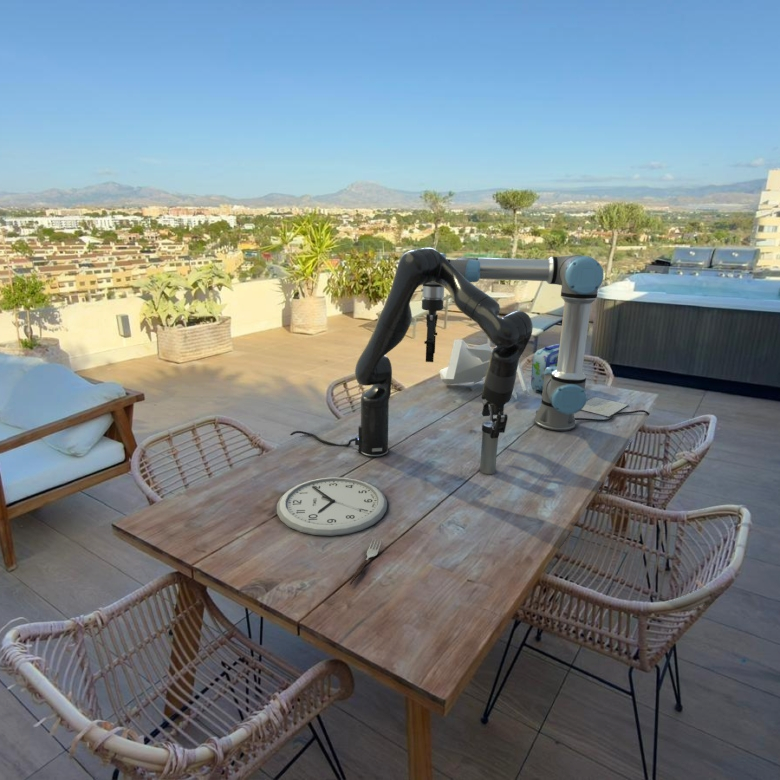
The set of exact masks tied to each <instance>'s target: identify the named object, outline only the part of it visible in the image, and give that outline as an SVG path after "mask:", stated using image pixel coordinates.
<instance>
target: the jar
mask: <svg viewBox="0 0 780 780" xmlns="http://www.w3.org/2000/svg"><path fill="white" fill-rule="evenodd" d="M481 435H482V436H481V445H480V446H481V448H480V460H479V472H480V473H482V474H484V475H494V474H495V473H496V469H497V468H496V467H497V457H498V456H497V455H498V444H499V437H498V438H491V437H490V434H488V433H485V432H483V431H482V433H481Z"/></svg>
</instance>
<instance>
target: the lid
mask: <svg viewBox="0 0 780 780" xmlns="http://www.w3.org/2000/svg"><path fill="white" fill-rule="evenodd" d="M495 424H496V421H495ZM491 429H492V421H491V420H487V421H482V423H481V431H482V433H483V432H485V433H488V434H491Z"/></svg>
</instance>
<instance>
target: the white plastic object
mask: <svg viewBox="0 0 780 780" xmlns="http://www.w3.org/2000/svg"><path fill="white" fill-rule="evenodd" d="M498 317H499V318H500V315H498ZM492 351H493V348H492V347H491V346H490V344H489V343H488V342H487V343H483V344H479V345H473V346H469V345H468V343H466V342H465V340H464V339H463V338H460V339H458V338H454V340H453V344H452V349H451V353H450V357H449V362H448V366H446V367H444V368H442V369H440V370H439V371H438V372H439V376H440V381H442V383H443V384H444V385H445V386H449V385H458V384H467V383H468V384H469V383H473V384H477V383H480V382H482V381H484V378H485V377H486V372H487V369H488V367H489V362H490V357H491V353H492ZM522 368H523V367H522V366H521V362H520V361H519V363H518V367H517V372H516V374H517V376H518V380H519V382H520V385H521V389H522V391H523V393H524V395H525V396H526V397H528V396H531V395H530V390H529V388H528V387H529V386H528V384H527V381H526V378H525V375H524V371H523V369H522ZM516 391H517V390H516V388H515V387H514V388H513V392H512V397H513V398H514V399H515V400H517V392H516Z"/></svg>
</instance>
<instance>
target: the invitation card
mask: <svg viewBox="0 0 780 780" xmlns="http://www.w3.org/2000/svg"><path fill="white" fill-rule="evenodd" d="M628 406H629V404H627V403H623V402H618V401H614V400H609V399H605V398H601V397H596V396H593V397H592V398H590V399H587V401H586V404H585V406H584V407H583V408H582V409H581V410H580V411H584V412H587V413H593V414H596V415H600V416H604V417H608V418H610V417H611V415H612V414H615V413H619V412H620V411H621V410H623V409H624V408H626V407H628Z"/></svg>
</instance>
